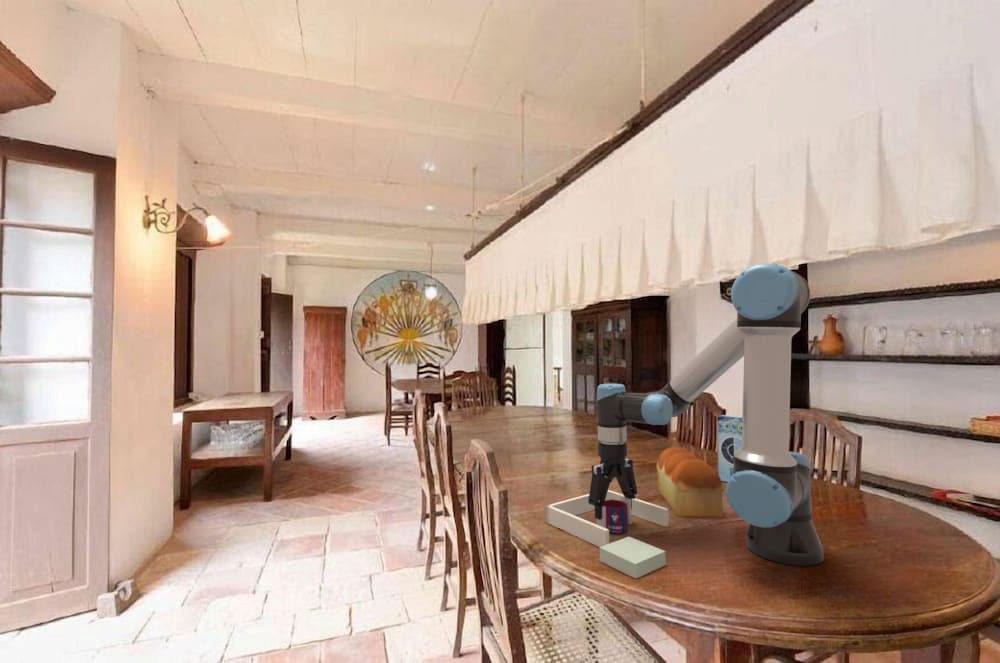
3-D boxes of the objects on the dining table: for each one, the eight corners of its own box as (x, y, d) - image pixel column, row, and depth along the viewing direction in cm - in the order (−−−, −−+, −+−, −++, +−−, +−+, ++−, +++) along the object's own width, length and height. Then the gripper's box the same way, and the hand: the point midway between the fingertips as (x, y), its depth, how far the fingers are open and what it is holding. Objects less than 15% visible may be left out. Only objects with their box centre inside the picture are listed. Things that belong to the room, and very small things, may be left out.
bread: (724, 518, 127) (722, 464, 127) (678, 517, 128) (676, 464, 129) (695, 490, 152) (693, 445, 152) (656, 490, 153) (655, 445, 154)
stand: (665, 565, 100) (665, 551, 100) (635, 578, 94) (635, 564, 94) (629, 549, 108) (628, 536, 108) (599, 561, 102) (599, 547, 102)
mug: (601, 534, 117) (601, 507, 117) (602, 520, 127) (601, 495, 127) (628, 536, 116) (627, 508, 116) (626, 521, 125) (626, 496, 126)
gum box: (718, 481, 161) (716, 416, 162) (725, 478, 165) (722, 414, 166) (779, 493, 146) (776, 422, 147) (785, 490, 150) (782, 420, 151)
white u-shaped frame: (668, 525, 121) (668, 508, 122) (605, 550, 108) (605, 530, 108) (606, 504, 140) (606, 489, 140) (545, 522, 126) (545, 505, 126)
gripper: (628, 434, 131) (630, 513, 131) (572, 444, 119) (574, 532, 118) (649, 438, 125) (652, 521, 124) (593, 449, 113) (595, 541, 112)
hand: (614, 526), depth 121 cm, fingers open, 9 cm apart
